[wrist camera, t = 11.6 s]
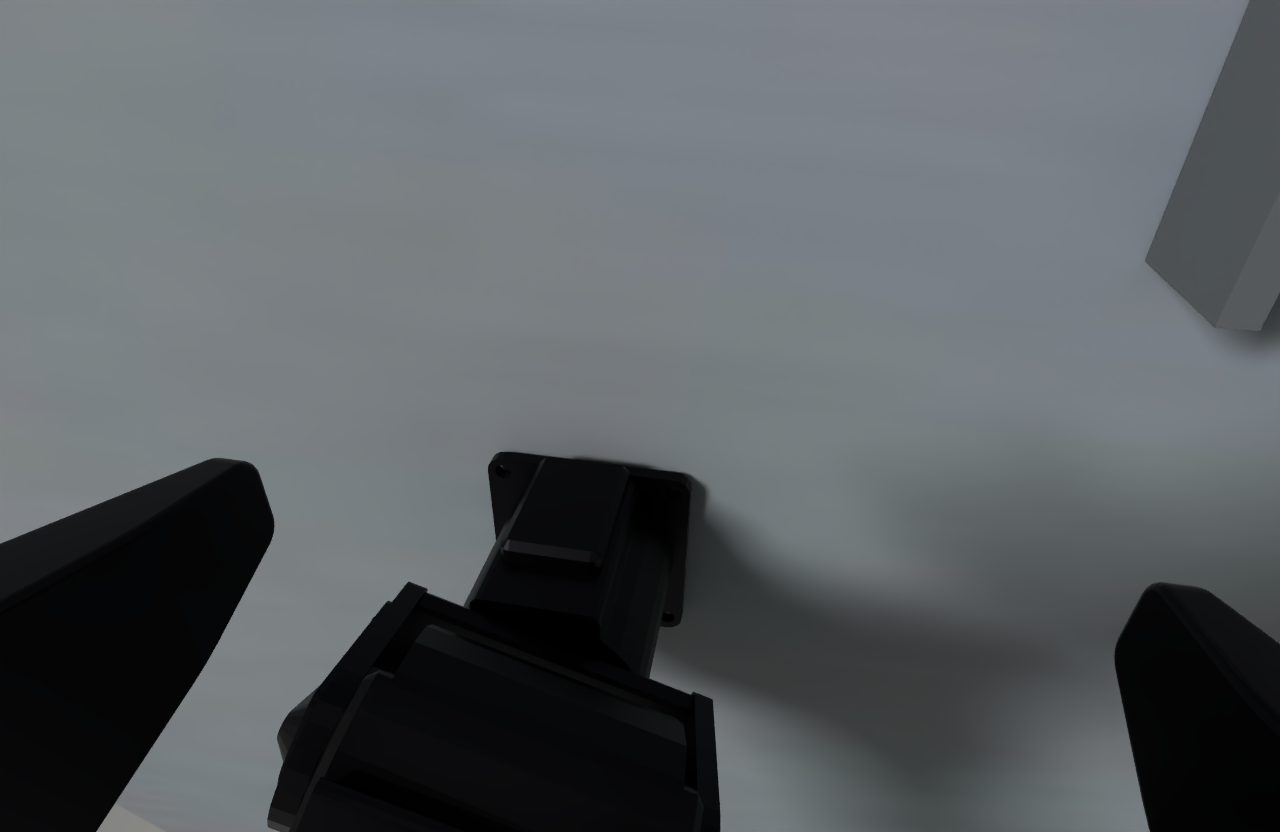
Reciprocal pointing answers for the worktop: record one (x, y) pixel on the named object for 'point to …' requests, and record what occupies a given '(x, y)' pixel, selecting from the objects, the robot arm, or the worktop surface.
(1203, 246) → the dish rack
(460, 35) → the worktop surface
